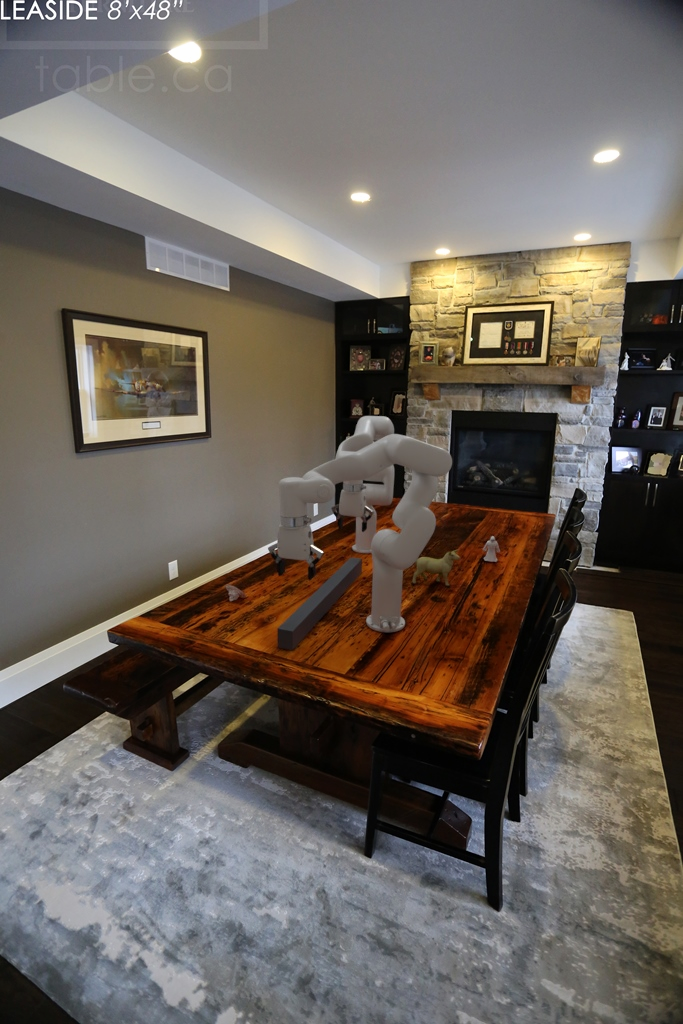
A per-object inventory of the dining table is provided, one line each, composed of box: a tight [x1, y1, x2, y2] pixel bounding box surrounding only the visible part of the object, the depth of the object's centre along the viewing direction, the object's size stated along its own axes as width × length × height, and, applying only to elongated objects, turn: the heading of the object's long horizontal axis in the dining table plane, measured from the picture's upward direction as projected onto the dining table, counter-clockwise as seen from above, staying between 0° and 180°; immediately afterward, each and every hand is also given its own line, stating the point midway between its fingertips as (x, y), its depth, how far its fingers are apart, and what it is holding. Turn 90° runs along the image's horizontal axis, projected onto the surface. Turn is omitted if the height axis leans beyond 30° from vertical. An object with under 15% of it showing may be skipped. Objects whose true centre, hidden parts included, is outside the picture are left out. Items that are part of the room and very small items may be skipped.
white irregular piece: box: [224, 584, 247, 602], centre depth 178 cm, size 8×5×8 cm
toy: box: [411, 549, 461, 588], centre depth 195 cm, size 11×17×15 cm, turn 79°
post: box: [276, 557, 363, 651], centre depth 176 cm, size 68×5×6 cm, turn 161°
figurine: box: [482, 535, 501, 563], centre depth 223 cm, size 8×8×12 cm
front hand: (296, 576), depth 148 cm, fingers open, 9 cm apart
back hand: (352, 529), depth 197 cm, fingers open, 9 cm apart
